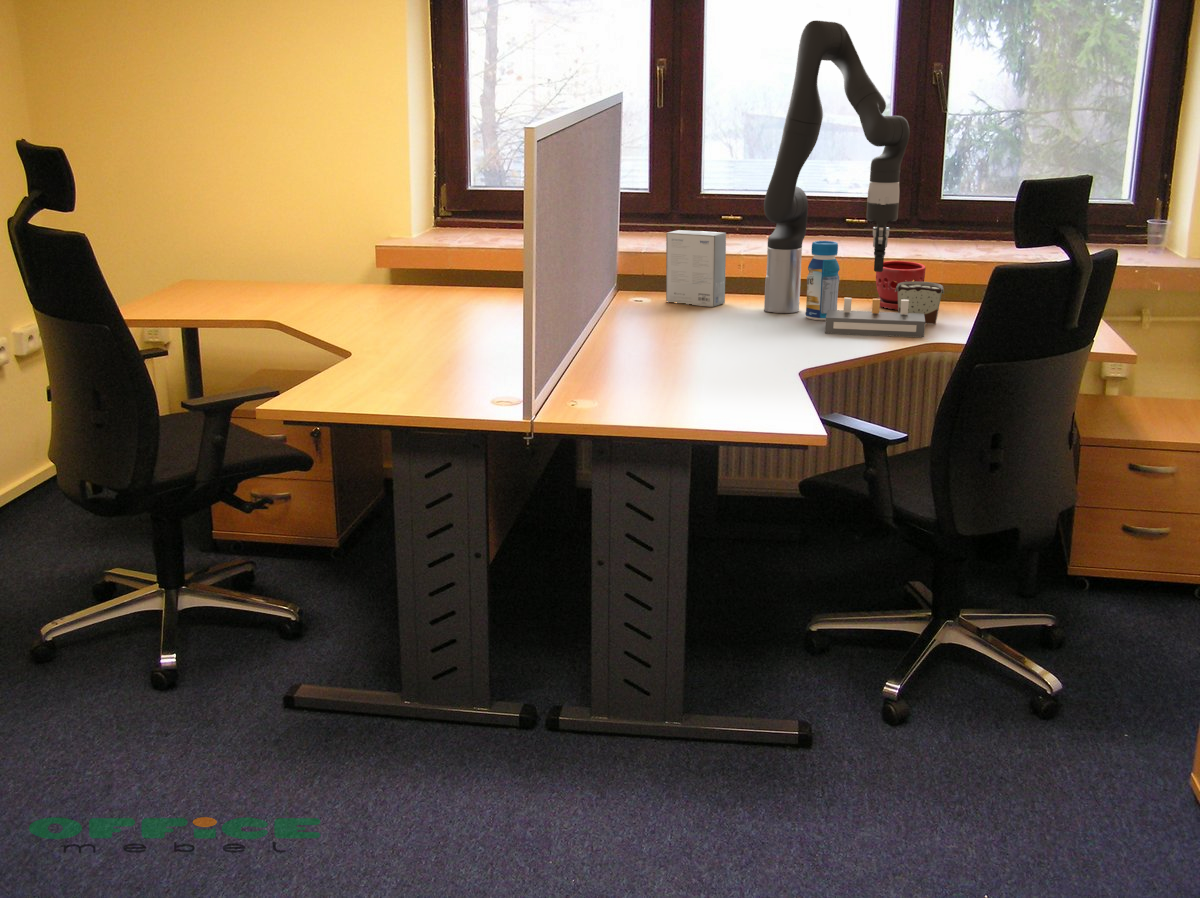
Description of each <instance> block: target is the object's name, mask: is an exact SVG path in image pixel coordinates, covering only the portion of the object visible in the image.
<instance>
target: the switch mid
mask: <svg viewBox="0 0 1200 898" xmlns="http://www.w3.org/2000/svg"><path fill="white" fill-rule="evenodd" d="M871 307H872V308H871V312H872V313H878V314H879V312H880V308H881V306H880V299H877V298H872V303H871Z"/></svg>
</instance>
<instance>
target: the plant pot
mask: <svg viewBox="0 0 1200 898" xmlns="http://www.w3.org/2000/svg"><path fill="white" fill-rule="evenodd" d="M926 268H927V267H926V266H925V265H924V264H923V263H919V262H914V261H907V260H888V261H887V260H886V261H884V262H883V271H882V272H875V283H876V284H875V285H876V291H877V294H878V297H877V298H876V299H880V308H883V307H884V308H883V309H886V308H888V309H887V310H892V309H895V310H894V311H898V291H896V292H895V290H896V286H897V285H898V284H899V283H902V282H914V281H916V282H925V277H926Z"/></svg>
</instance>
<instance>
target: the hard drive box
mask: <svg viewBox="0 0 1200 898" xmlns="http://www.w3.org/2000/svg"><path fill="white" fill-rule="evenodd" d="M665 235H666V239H665V241H666V243H665V244H666V245H665V246H666V249H665V250H666V253H665V256H666V258H665V259H666V260H665V261H666V262H665V269H666V270H665V271H666V273H665V274H666V275H665V276H666V277H665V278H666V279H665V282H666V285H665V287H666V288H665V291H666V293H665V296H666V297H665V299H666V300H665V301H668V302H667V303H669V302H677V303H686V304H685V305H689V304H692V305H691V306H699V307H710V308H713V307H716V306H719V305H723V304H725V303H726V261H727V260H726V258H727V257H726V253H727V251H726V250H727V249H726V248H727V247H726V246H727V232H724V231H723V232H722V231H720V232H719V231H718V232H717V231H707V230H706V231H703V230H687V229H686V230H685V229H684V230H681V229H678V230H673V231H668V232H666V234H665ZM677 303H676V304H677Z"/></svg>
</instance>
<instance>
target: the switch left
mask: <svg viewBox="0 0 1200 898" xmlns="http://www.w3.org/2000/svg"><path fill="white" fill-rule="evenodd" d="M843 298H844V299H843V310H844V312H851V311H852V300H853V298H852V297H843Z"/></svg>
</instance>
